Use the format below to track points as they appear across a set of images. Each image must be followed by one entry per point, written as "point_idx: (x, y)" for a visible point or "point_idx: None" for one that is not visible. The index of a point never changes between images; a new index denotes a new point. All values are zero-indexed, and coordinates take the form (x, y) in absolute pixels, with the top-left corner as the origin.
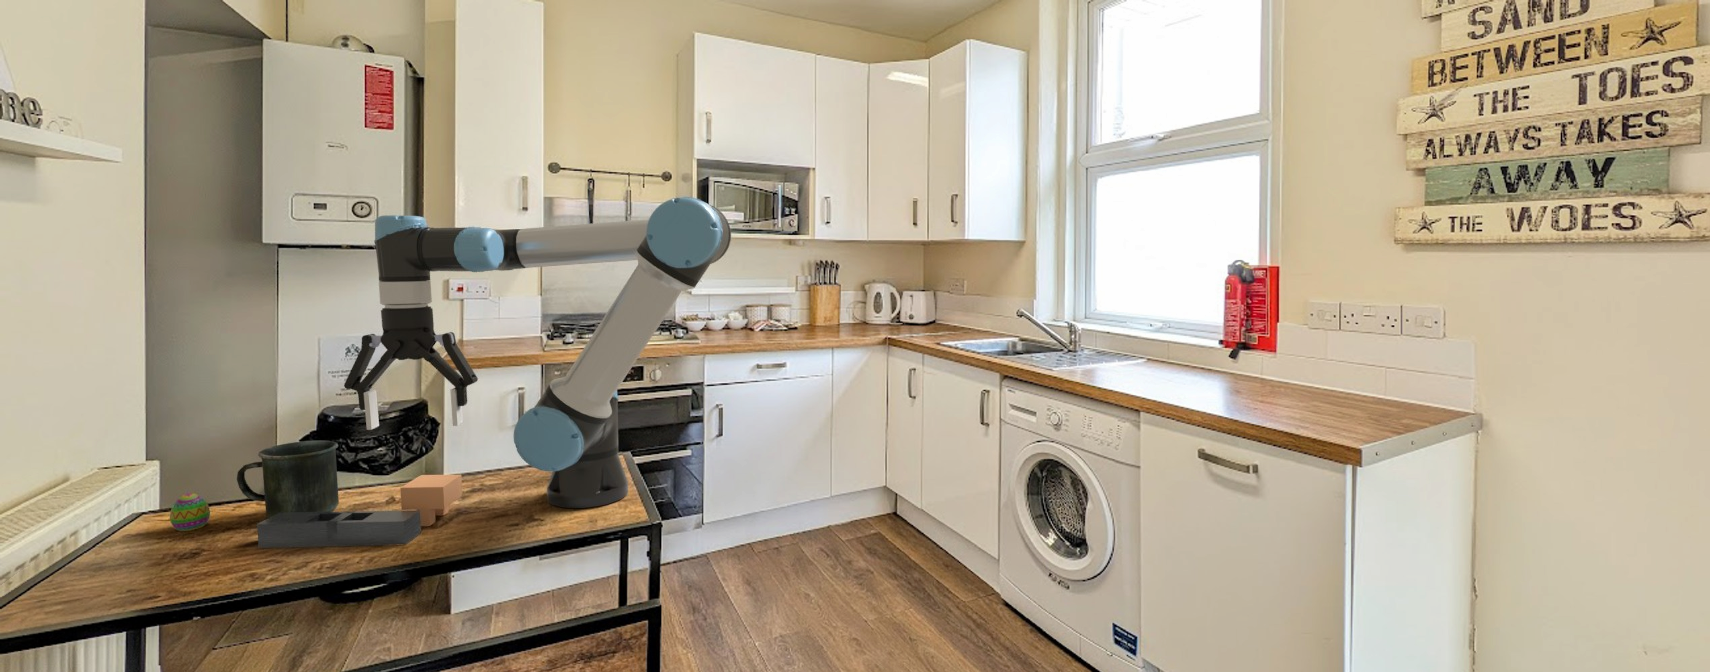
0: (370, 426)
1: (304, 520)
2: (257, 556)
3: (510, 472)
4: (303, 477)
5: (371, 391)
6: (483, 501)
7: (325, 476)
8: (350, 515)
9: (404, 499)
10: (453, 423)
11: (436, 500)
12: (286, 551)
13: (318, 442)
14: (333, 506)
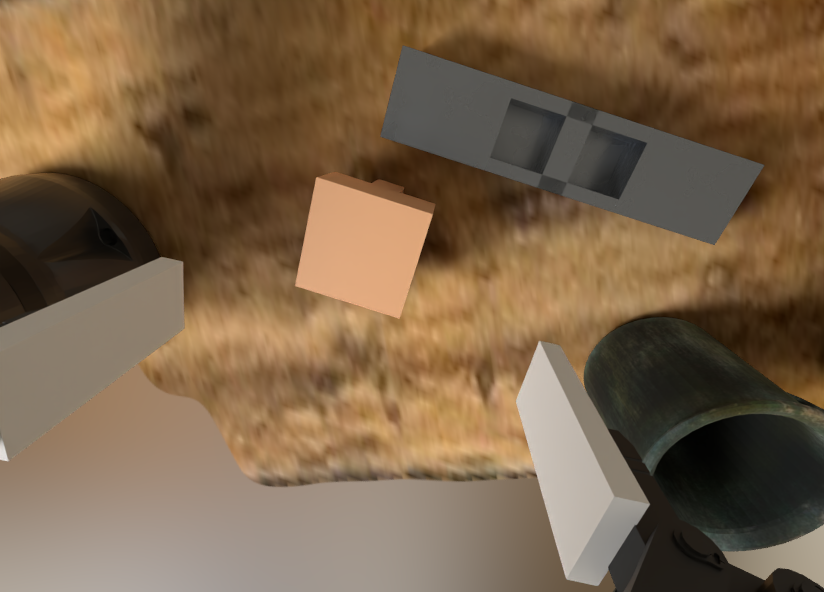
0: (547, 349)
1: (652, 152)
2: (720, 103)
3: (281, 462)
4: (693, 369)
5: (594, 531)
6: (297, 304)
7: (635, 387)
8: (545, 163)
9: (425, 205)
10: (172, 266)
11: (346, 179)
12: (661, 115)
13: None
14: (592, 355)
